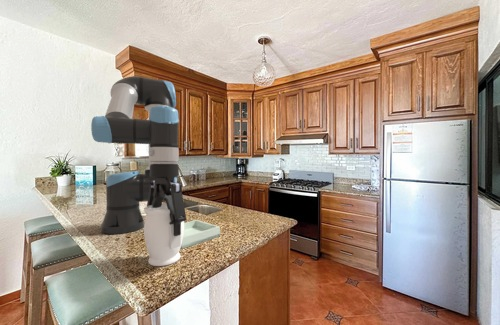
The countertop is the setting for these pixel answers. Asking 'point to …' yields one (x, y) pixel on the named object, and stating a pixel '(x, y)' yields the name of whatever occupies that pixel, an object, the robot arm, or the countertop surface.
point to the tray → (198, 233)
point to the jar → (160, 236)
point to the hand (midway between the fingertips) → (164, 242)
